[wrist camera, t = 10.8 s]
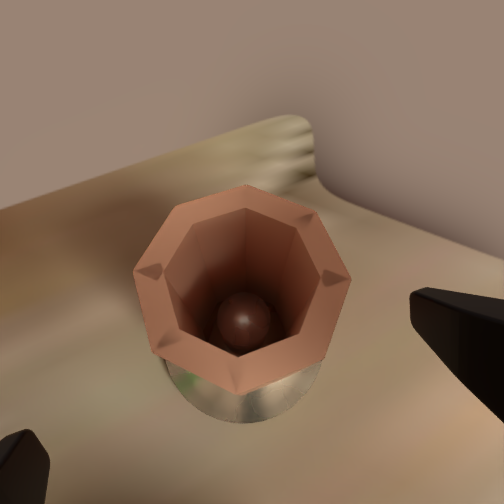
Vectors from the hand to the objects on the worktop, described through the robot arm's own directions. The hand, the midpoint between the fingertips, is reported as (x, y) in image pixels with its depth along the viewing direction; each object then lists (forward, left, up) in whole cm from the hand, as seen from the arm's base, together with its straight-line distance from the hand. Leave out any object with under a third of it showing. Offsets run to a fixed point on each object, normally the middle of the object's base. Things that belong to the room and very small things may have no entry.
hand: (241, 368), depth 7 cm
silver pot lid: (+1, -3, -12) cm, 13 cm away
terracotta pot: (+1, -3, -12) cm, 12 cm away
